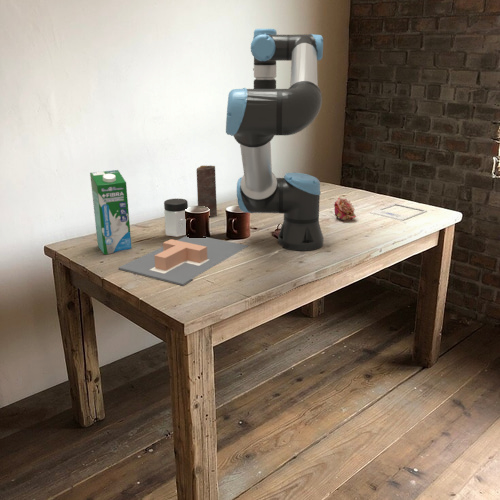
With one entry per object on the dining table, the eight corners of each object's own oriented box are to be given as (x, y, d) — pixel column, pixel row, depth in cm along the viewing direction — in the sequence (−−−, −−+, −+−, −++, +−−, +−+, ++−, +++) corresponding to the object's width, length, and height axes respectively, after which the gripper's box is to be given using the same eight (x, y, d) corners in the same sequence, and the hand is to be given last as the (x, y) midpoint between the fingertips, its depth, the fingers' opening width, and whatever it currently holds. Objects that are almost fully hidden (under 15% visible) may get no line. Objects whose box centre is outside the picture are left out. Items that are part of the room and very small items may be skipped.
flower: (324, 216, 206) (336, 202, 201) (330, 205, 213) (342, 191, 209) (345, 231, 206) (357, 217, 201) (350, 220, 214) (362, 206, 209)
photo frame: (370, 211, 216) (395, 203, 228) (370, 214, 216) (394, 205, 228) (402, 219, 206) (426, 210, 218) (402, 222, 207) (426, 212, 218)
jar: (171, 239, 187) (169, 206, 183) (161, 233, 193) (159, 200, 189) (194, 234, 192) (192, 202, 187) (183, 229, 198) (182, 197, 194)
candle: (209, 220, 208) (207, 168, 201) (194, 217, 211) (192, 166, 204) (220, 215, 214) (219, 165, 207) (205, 212, 217) (204, 163, 210)
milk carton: (104, 254, 173) (96, 177, 165) (97, 246, 181) (89, 172, 172) (131, 250, 177) (125, 174, 168) (124, 242, 185) (118, 169, 176)
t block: (207, 258, 168) (206, 246, 167) (179, 274, 157) (178, 261, 155) (171, 250, 175) (170, 239, 173) (142, 264, 163) (141, 252, 162)
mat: (249, 247, 179) (249, 245, 179) (183, 285, 150) (183, 283, 150) (190, 235, 191) (190, 233, 191) (118, 269, 162) (118, 267, 162)
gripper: (263, 77, 188) (263, 145, 196) (245, 79, 177) (246, 151, 185) (283, 77, 184) (282, 147, 193) (266, 80, 173) (266, 153, 182)
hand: (264, 149), depth 189 cm, fingers closed
